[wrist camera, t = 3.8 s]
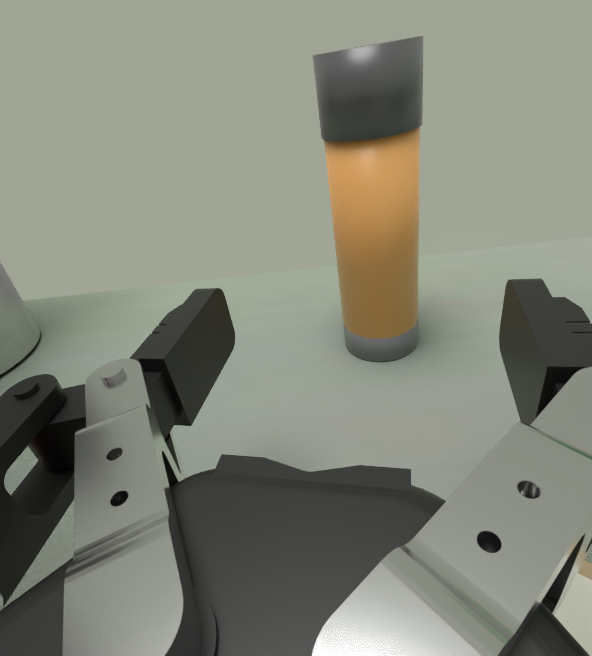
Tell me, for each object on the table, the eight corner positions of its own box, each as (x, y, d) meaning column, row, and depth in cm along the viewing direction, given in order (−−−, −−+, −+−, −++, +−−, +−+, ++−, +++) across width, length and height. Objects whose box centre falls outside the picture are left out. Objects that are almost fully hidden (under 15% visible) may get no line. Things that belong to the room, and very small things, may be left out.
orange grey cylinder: (329, 350, 24) (291, 59, 16) (366, 313, 26) (348, 48, 19) (398, 371, 21) (391, 42, 14) (431, 329, 24) (440, 32, 16)
